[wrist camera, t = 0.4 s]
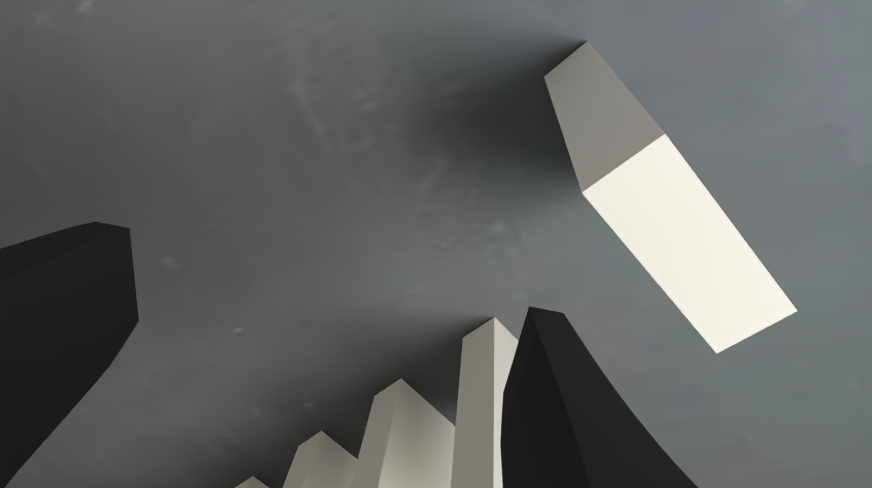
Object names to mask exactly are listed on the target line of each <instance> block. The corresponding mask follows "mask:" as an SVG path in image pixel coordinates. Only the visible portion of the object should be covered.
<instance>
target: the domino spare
mask: <svg viewBox="0 0 872 488" xmlns="http://www.w3.org/2000/svg"><path fill="white" fill-rule="evenodd" d="M544 78H545V81H546V84H547V88H548V91H549V94H550V97H551V100H552V103H553V106H554V109H555V112H556V115H557V118H558V121H559V124H560V127H561V130H562V133H563V137H564V140H565V143H566V146H567V149H568V152H569V155H570V158H571V161H572V164H573V167H574V170H575V173H576V176H577V179H578V182H579V185H580V189H581V192H582V193H583V195H584V196H585V197H586V198H587V199H588V201H589V202H590V203H591V204H592V205H593V207H594V208H595V209H596V210H597V211H598V213H599V214H600V215H601V216H602V217H603V219H604V220H605V221H606V222H607V223H608V224H609V226H610V227H611V228H612V229H613V230H614V232H615V233H616V234H617V235H618V236H619V238H620V239H621V240H622V241H623V242H624V244H625V245H626V246H627V247H628V248H629V250H630V251H631V252H632V253H633V254H634V255H635V257H636V258H637V259H638V260H639V261H640V263H641V264H642V265H643V266H644V267H645V269H646V270H647V271H648V272H649V273H650V275H651V276H652V277H653V278H654V279H655V281H656V282H657V283H658V284H659V285H660V286H661V288H662V289H663V290H664V291H665V292H666V294H667V295H668V296H669V297H670V298H671V300H672V301H673V302H674V303H675V304H676V306H677V307H678V308H679V309H680V310H681V312H682V313H683V314H684V315H685V316H686V317H687V319H688V320H689V321H690V322H691V323H692V325H693V326H694V327H695V328H696V329H697V331H698V332H699V333H700V334H701V335H702V337H703V338H704V339H705V340H706V341H707V343H708V344H709V345H710V346H711V347H712V348H713V350H714V351H715V352H716V353H719V352H721V351H722V350H724V349H726V348H728V347H730V346H732V345H734V344H736V343H738V342H739V341H741V340H743V339H745V338H747V337H749V336H751V335H753V334H755V333H757V332H758V331H760V330H762V329H764V328H766V327H768V326H770V325H772V324H774V323H775V322H777V321H779V320H781V319H783V318H785V317H787V316H789V315H791V314H793V313H794V312H796V311H797V310H796V309H795V307H794V306H793V305H792V303H791V302H790V301H789V299H788V298H787V297H786V295H785V294H784V293H783V291H782V290H781V288H780V287H779V286H778V284H777V283H776V282H775V280H774V279H773V278H772V276H771V275H770V274H769V272H768V271H767V270H766V268H765V267H764V266H763V264H762V263H761V262H760V260H759V259H758V258H757V256H756V255H755V254H754V252H753V251H752V250H751V248H750V247H749V246H748V244H747V243H746V242H745V240H744V239H743V238H742V236H741V235H740V234H739V232H738V231H737V229H736V228H735V227H734V225H733V224H732V223H731V221H730V220H729V219H728V217H727V216H726V215H725V213H724V212H723V211H722V209H721V208H720V207H719V205H718V204H717V203H716V201H715V200H714V199H713V197H712V196H711V195H710V193H709V192H708V191H707V189H706V188H705V187H704V185H703V184H702V183H701V181H700V180H699V179H698V177H697V176H696V175H695V173H694V172H693V170H692V169H691V168H690V166H689V165H688V164H687V162H686V161H685V160H684V158H683V157H682V156H681V154H680V153H679V152H678V150H677V149H676V148H675V146H674V145H673V144H672V142H671V141H670V140H669V138H668V137H667V136H666V134H665V133H664V132H663V131H662V129H661V128H660V127H659V126H658V125H657V123H656V122H655V121H654V120H653V119H652V117H651V116H650V115H649V114H648V113H647V111H646V110H645V109H644V108H643V107H642V105H641V104H640V103H639V102H638V101H637V99H636V98H635V97H634V96H633V95H632V93H631V92H630V91H629V90H628V89H627V87H626V86H625V85H624V84H623V83H622V81H621V80H620V79H619V78H618V77H617V75H616V74H615V73H614V72H613V71H612V69H611V68H610V67H609V66H608V65H607V63H606V62H605V61H604V60H603V59H602V57H601V56H600V55H599V54H598V53H597V51H596V50H595V49H594V48H593V47H592V45H591V44H590V43H589V42H588V41H587V42H585V43H584V44H583V45H582V46H581V47H579V48H578V49H577V50H576V51H575V52H573V53H572V54H571V55H570V56H569V57H567V58H566V59H565V60H564V61H562V62H561V63H560V64H559V65H558V66H556V67H555V68H554V69H553V70H552V71H550V72H549V73H548V74H547V75H546V76H544Z"/></svg>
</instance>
